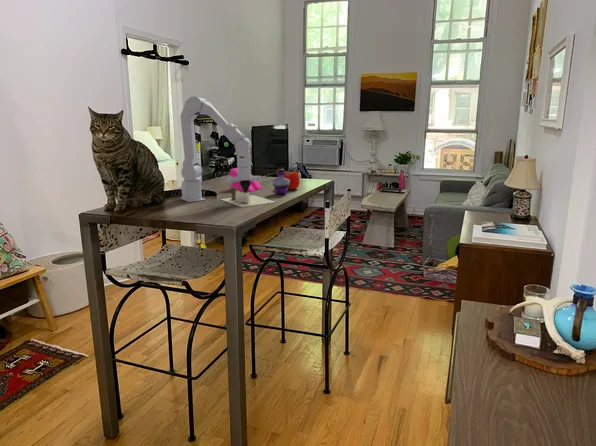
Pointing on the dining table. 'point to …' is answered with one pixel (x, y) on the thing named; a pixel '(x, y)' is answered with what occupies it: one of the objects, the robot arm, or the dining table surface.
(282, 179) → the potion bottle
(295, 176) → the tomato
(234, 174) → the bracket
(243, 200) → the fence panel
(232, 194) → the fence post
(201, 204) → the dining table surface
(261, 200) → the card
